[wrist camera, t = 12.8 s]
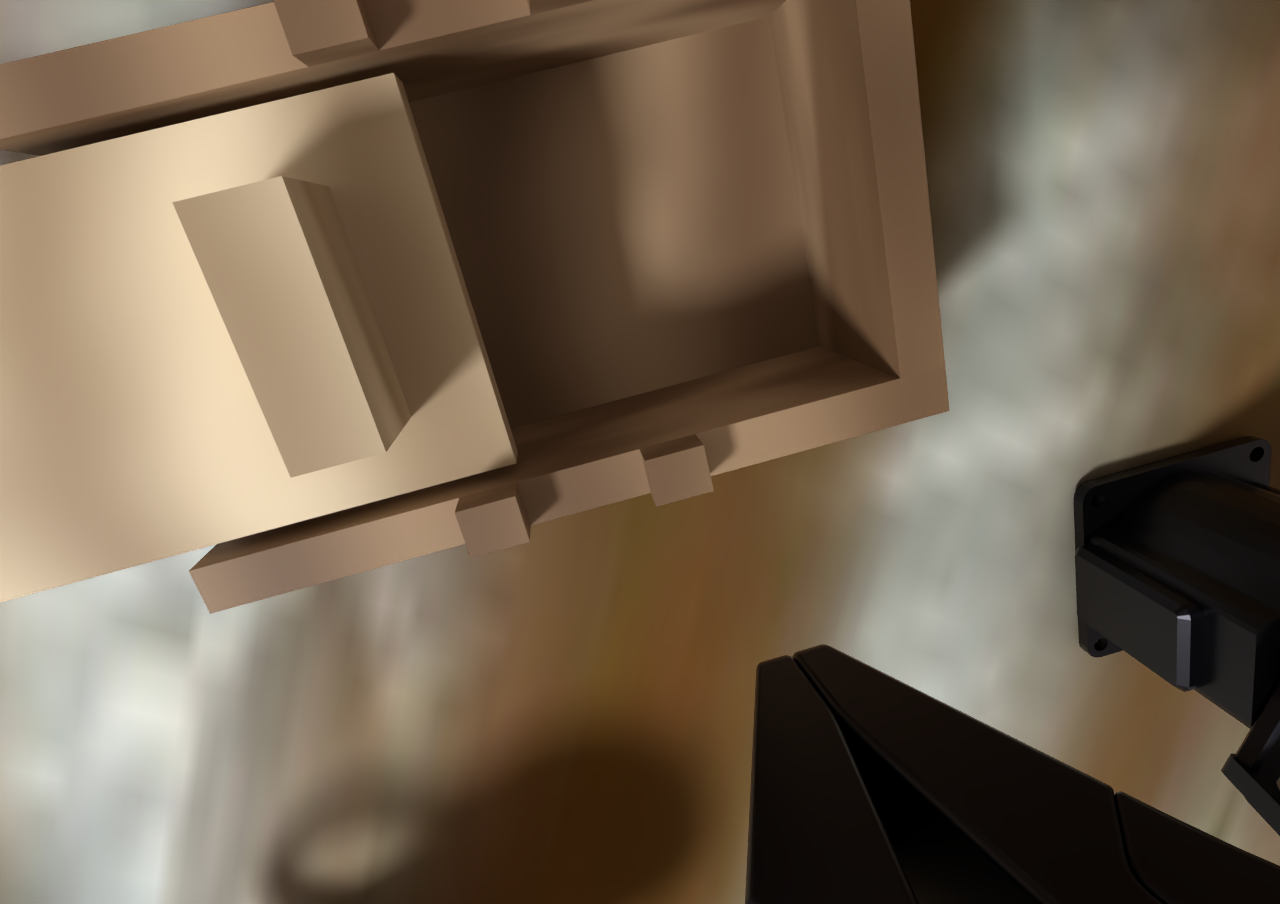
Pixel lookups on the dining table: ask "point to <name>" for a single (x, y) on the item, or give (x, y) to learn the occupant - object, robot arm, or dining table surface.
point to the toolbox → (593, 232)
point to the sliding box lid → (229, 335)
